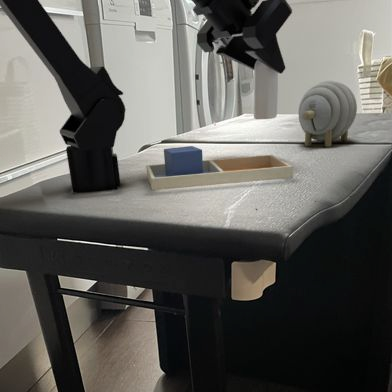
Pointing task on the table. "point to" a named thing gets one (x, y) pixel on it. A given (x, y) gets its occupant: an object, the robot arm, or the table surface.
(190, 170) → the slate block
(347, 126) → the toy sheep
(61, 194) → the table surface
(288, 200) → the table surface
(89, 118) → the robot arm
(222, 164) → the sorting tray
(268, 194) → the table surface
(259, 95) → the eye dropper bottle
